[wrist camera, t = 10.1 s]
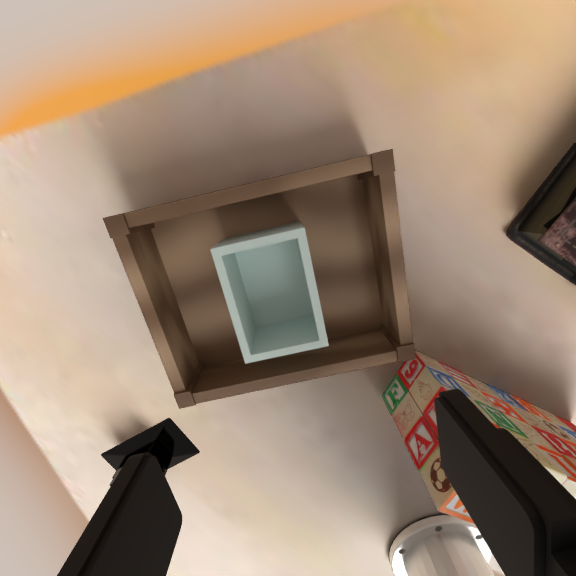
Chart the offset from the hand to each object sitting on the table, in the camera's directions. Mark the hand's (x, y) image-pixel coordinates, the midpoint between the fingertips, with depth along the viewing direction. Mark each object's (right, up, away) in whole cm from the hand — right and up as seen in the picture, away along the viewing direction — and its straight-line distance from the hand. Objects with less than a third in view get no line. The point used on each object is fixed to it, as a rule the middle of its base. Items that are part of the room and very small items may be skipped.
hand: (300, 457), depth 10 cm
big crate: (-2, +7, +17) cm, 19 cm away
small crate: (-2, +6, +17) cm, 18 cm away
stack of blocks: (+20, -7, +23) cm, 31 cm away
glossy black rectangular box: (-16, -12, +24) cm, 31 cm away
